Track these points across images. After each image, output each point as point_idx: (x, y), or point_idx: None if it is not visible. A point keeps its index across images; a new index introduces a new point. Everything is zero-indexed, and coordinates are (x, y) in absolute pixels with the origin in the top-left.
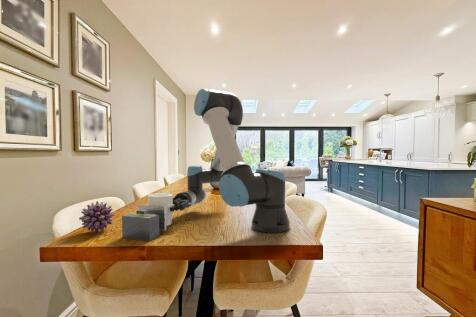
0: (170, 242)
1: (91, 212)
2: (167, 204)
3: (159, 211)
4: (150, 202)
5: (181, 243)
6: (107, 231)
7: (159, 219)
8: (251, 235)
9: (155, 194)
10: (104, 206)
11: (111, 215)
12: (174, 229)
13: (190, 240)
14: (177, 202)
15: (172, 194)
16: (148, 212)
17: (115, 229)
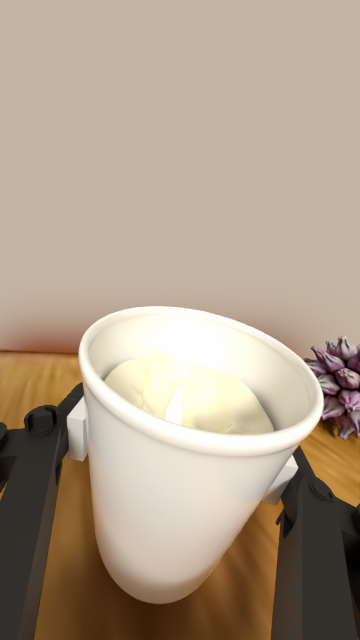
0: (78, 367)
1: (329, 347)
2: (116, 365)
3: None
4: (212, 347)
5: (47, 362)
6: (316, 431)
7: None
8: None
9: (311, 400)
10: (354, 356)
11: (345, 401)
12: (71, 484)
13: (14, 375)
14: (8, 574)
15: (85, 337)
16: None
17: (323, 454)
